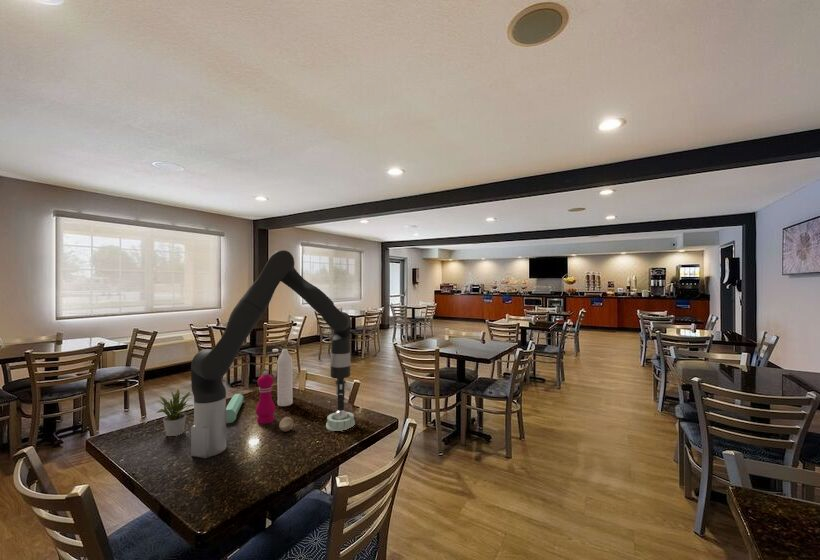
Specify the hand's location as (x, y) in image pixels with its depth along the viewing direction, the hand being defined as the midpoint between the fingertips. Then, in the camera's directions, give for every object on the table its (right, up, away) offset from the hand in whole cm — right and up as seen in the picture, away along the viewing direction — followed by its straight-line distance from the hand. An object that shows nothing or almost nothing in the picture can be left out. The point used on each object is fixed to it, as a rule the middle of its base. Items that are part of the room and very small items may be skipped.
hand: (340, 406), depth 136 cm
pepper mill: (-31, -8, +5) cm, 32 cm away
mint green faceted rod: (-49, -8, +15) cm, 52 cm away
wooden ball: (-19, -8, -4) cm, 21 cm away
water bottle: (-31, -8, +24) cm, 40 cm away
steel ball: (0, -7, 0) cm, 7 cm away
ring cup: (0, -8, 0) cm, 8 cm away
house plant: (-58, -8, -7) cm, 59 cm away
